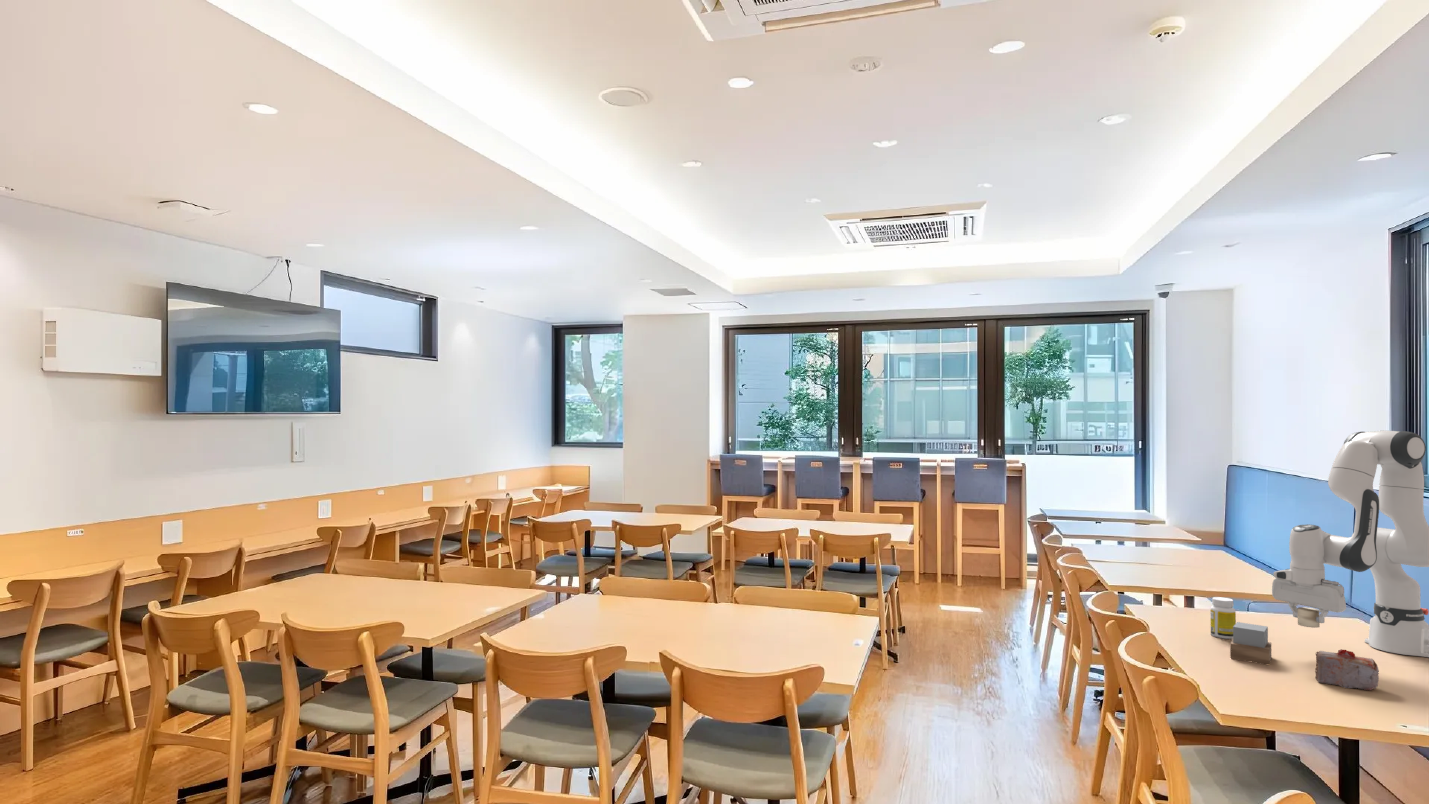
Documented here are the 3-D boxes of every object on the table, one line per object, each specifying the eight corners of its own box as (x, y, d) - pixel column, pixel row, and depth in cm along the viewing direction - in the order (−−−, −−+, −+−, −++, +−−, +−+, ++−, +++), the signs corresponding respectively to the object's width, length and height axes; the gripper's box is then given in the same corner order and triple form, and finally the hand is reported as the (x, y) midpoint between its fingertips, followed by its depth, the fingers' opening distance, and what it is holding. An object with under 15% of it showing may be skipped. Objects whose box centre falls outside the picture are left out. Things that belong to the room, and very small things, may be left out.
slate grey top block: (1237, 637, 249) (1237, 621, 249) (1267, 642, 244) (1267, 626, 244) (1233, 642, 243) (1233, 626, 243) (1264, 648, 238) (1264, 631, 238)
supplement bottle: (1240, 638, 265) (1240, 600, 265) (1226, 640, 263) (1226, 602, 263) (1219, 632, 272) (1219, 595, 272) (1205, 634, 269) (1205, 597, 270)
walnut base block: (1233, 652, 250) (1233, 636, 250) (1271, 658, 244) (1271, 642, 244) (1230, 659, 242) (1230, 643, 242) (1269, 666, 236) (1269, 649, 236)
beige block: (1305, 622, 250) (1304, 606, 250) (1323, 626, 245) (1323, 610, 245) (1293, 624, 248) (1293, 608, 249) (1312, 628, 243) (1311, 612, 243)
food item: (1375, 686, 218) (1375, 651, 218) (1380, 694, 212) (1379, 658, 212) (1314, 676, 226) (1314, 642, 226) (1316, 684, 219) (1316, 649, 219)
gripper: (1350, 581, 238) (1351, 627, 238) (1281, 569, 258) (1282, 611, 257) (1336, 583, 236) (1338, 629, 236) (1268, 571, 255) (1269, 613, 255)
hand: (1308, 620), depth 247 cm, fingers closed on beige block, 5 cm apart
